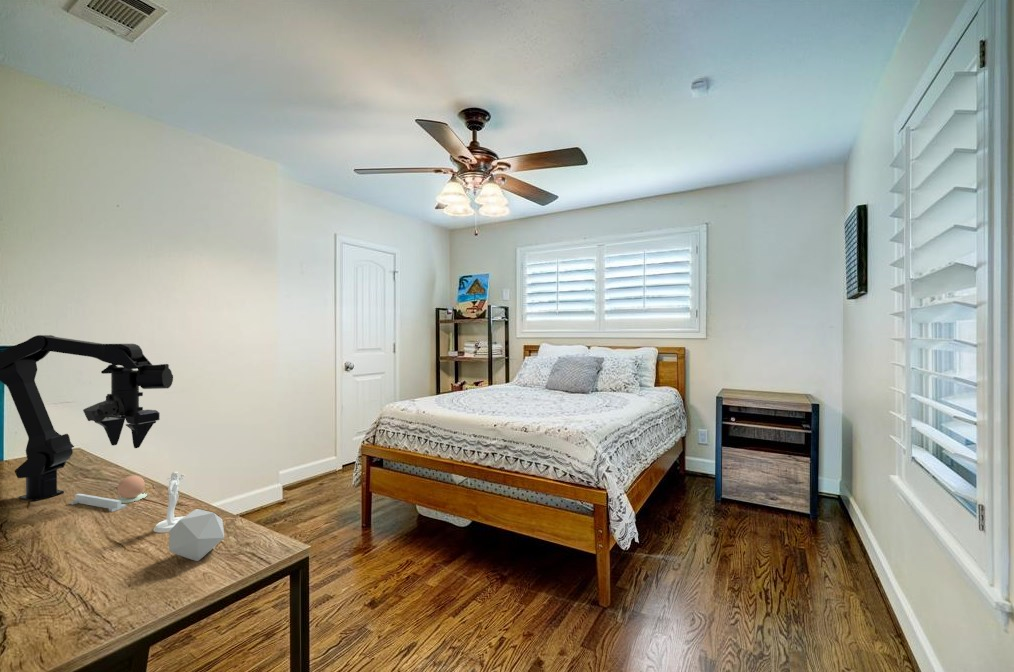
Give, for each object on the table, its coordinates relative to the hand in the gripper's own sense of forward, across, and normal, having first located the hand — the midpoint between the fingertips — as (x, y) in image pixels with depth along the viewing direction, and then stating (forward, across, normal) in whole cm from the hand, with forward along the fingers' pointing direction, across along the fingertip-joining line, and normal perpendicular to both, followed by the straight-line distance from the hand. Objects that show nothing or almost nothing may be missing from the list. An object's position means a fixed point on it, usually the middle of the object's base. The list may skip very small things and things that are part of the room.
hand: (125, 446), depth 120 cm
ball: (+12, +9, -4) cm, 15 cm away
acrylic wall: (+12, +6, -10) cm, 16 cm away
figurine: (+12, +36, -12) cm, 40 cm away
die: (+12, +54, -19) cm, 59 cm away
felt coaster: (+12, +9, -4) cm, 15 cm away
